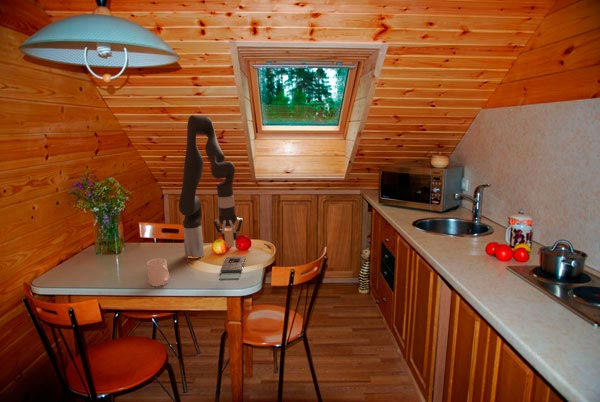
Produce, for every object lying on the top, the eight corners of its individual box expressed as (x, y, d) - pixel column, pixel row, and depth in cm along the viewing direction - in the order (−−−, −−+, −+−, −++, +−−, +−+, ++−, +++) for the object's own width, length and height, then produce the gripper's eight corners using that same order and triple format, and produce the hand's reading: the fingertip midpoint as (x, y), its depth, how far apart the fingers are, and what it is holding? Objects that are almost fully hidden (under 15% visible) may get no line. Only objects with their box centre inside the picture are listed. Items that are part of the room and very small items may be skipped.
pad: (219, 279, 199) (219, 278, 199) (221, 274, 205) (221, 273, 205) (238, 279, 199) (238, 278, 199) (240, 273, 205) (240, 272, 205)
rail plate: (220, 273, 205) (220, 269, 205) (226, 260, 221) (226, 256, 220) (241, 273, 205) (241, 269, 205) (245, 259, 221) (245, 256, 220)
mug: (162, 290, 190) (159, 268, 188) (145, 284, 197) (142, 263, 194) (177, 283, 197) (175, 261, 194) (160, 277, 204) (158, 256, 201)
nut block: (225, 247, 198) (224, 230, 196) (226, 244, 202) (225, 228, 200) (234, 246, 199) (232, 230, 196) (235, 243, 202) (233, 227, 200)
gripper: (209, 208, 191) (213, 243, 196) (241, 206, 192) (244, 241, 196) (212, 203, 199) (216, 238, 203) (242, 201, 199) (245, 236, 203)
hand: (230, 239), depth 200 cm, fingers closed on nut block, 4 cm apart
